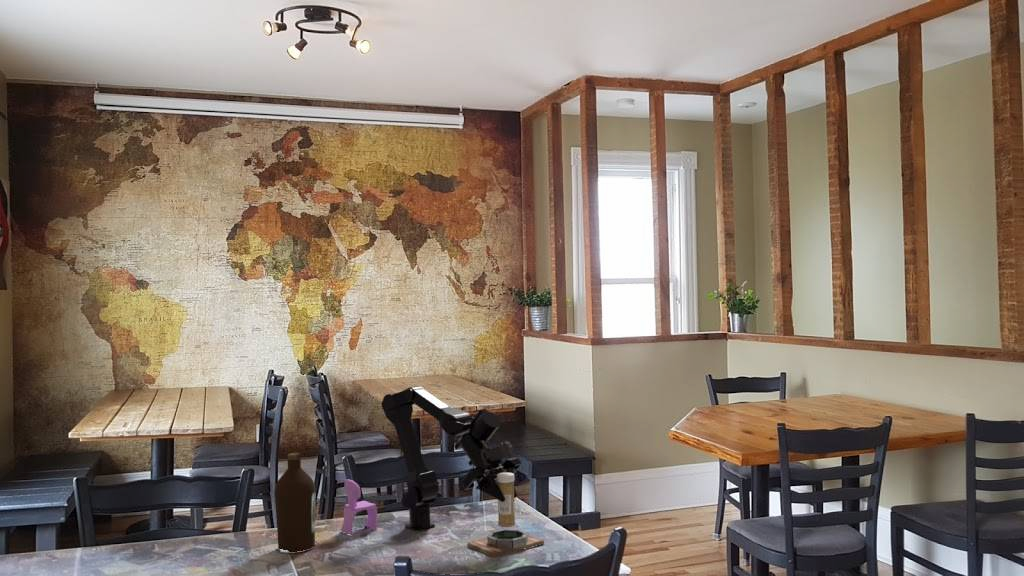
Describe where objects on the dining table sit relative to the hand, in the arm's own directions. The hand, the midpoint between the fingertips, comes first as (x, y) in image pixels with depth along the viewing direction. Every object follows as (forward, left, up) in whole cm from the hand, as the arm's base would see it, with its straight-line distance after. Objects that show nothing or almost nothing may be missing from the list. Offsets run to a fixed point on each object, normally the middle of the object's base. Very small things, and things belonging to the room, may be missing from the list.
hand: (510, 499), depth 220 cm
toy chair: (-41, -23, -13) cm, 49 cm away
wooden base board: (-2, 0, -12) cm, 13 cm away
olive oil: (-37, -43, -13) cm, 58 cm away
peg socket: (-1, 0, -12) cm, 12 cm away
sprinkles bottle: (-1, 0, -7) cm, 7 cm away
